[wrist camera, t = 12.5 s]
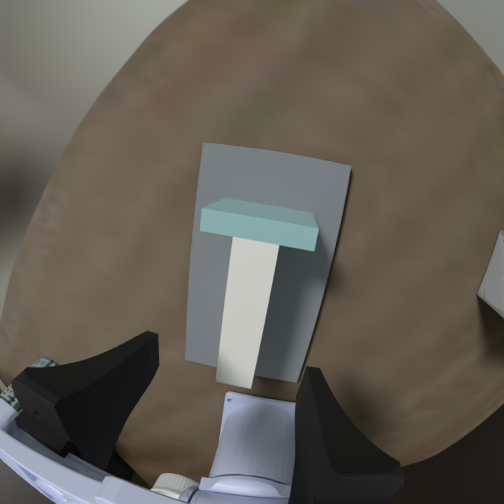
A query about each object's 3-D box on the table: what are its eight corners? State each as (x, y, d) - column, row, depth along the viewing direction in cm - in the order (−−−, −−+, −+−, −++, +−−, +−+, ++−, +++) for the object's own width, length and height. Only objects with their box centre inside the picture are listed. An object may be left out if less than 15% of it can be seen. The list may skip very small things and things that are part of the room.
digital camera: (79, 430, 34) (60, 457, 27) (99, 434, 33) (79, 463, 26) (114, 466, 36) (99, 492, 30) (134, 470, 35) (120, 499, 28)
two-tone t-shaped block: (281, 351, 22) (277, 393, 17) (209, 336, 23) (190, 374, 18) (312, 213, 19) (318, 228, 14) (224, 198, 19) (201, 208, 15)
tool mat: (296, 378, 24) (296, 382, 23) (187, 355, 24) (185, 359, 24) (349, 166, 18) (351, 166, 18) (206, 143, 19) (203, 142, 18)
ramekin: (164, 487, 36) (156, 504, 31) (151, 464, 33) (142, 484, 29) (212, 498, 34) (206, 517, 30) (205, 477, 32) (198, 499, 28)
